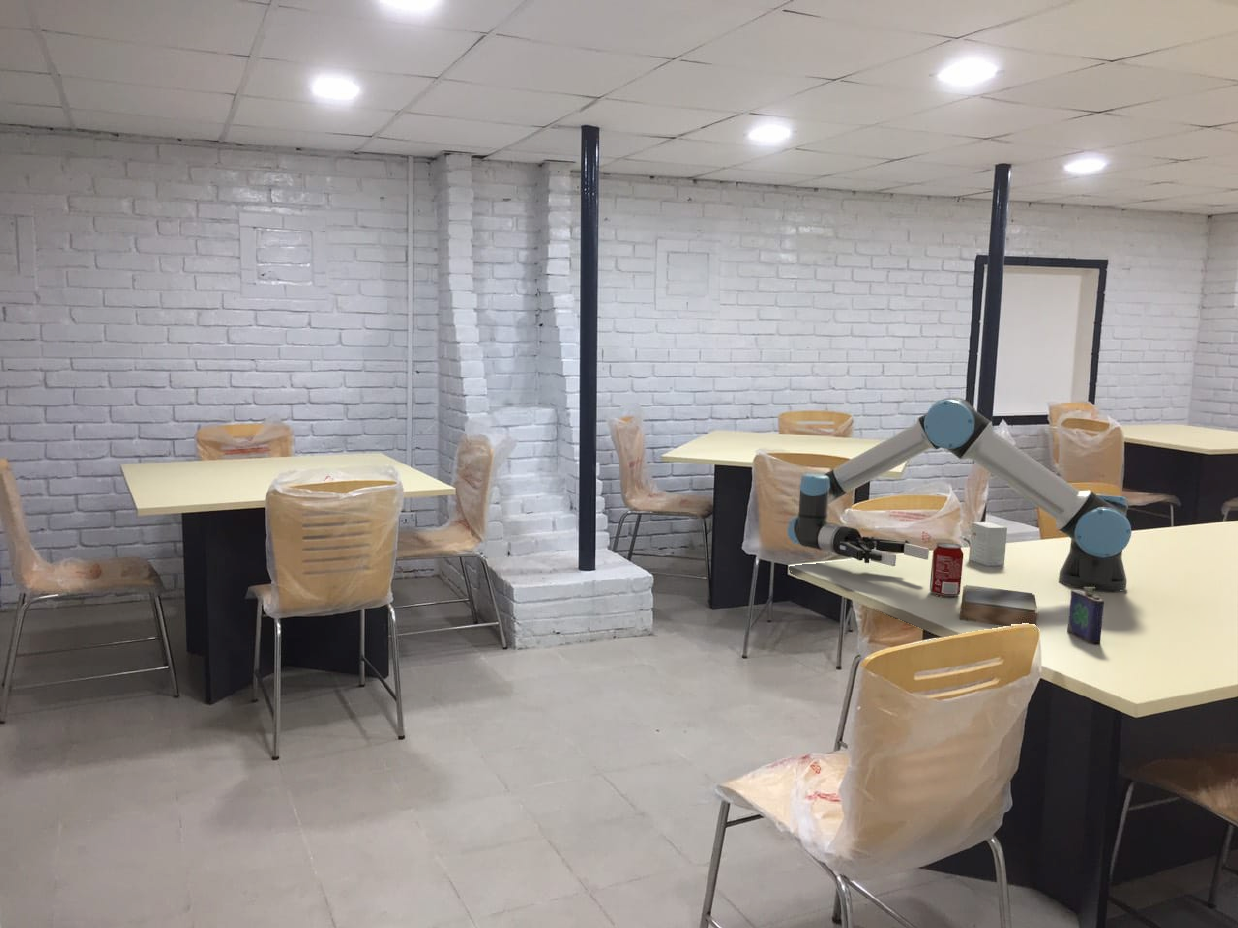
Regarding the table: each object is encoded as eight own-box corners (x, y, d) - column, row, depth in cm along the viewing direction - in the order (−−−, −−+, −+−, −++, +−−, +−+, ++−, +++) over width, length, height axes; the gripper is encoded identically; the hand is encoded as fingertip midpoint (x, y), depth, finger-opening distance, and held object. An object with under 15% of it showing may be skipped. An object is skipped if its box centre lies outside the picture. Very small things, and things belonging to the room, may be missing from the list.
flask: (1064, 630, 202) (1069, 580, 201) (1077, 630, 202) (1082, 580, 201) (1091, 645, 193) (1097, 592, 192) (1104, 645, 193) (1111, 592, 192)
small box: (1004, 565, 260) (1007, 527, 258) (985, 566, 258) (989, 527, 257) (985, 558, 267) (989, 521, 266) (968, 559, 266) (971, 521, 264)
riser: (1032, 610, 217) (1034, 592, 216) (1035, 629, 202) (1037, 610, 201) (961, 601, 222) (963, 584, 221) (959, 619, 207) (961, 601, 206)
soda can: (961, 599, 223) (966, 548, 221) (930, 596, 224) (935, 546, 223) (957, 592, 230) (962, 542, 228) (927, 589, 231) (932, 540, 229)
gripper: (869, 549, 258) (939, 566, 242) (808, 560, 242) (878, 579, 226) (871, 521, 257) (942, 536, 241) (810, 530, 241) (881, 547, 225)
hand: (911, 557), depth 233 cm, fingers open, 13 cm apart
